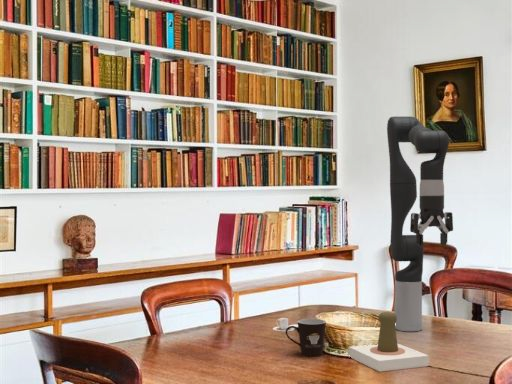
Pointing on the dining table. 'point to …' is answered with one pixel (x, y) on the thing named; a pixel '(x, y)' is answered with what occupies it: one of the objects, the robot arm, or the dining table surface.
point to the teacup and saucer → (284, 325)
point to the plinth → (388, 358)
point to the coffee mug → (310, 336)
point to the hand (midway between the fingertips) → (431, 245)
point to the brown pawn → (387, 333)
